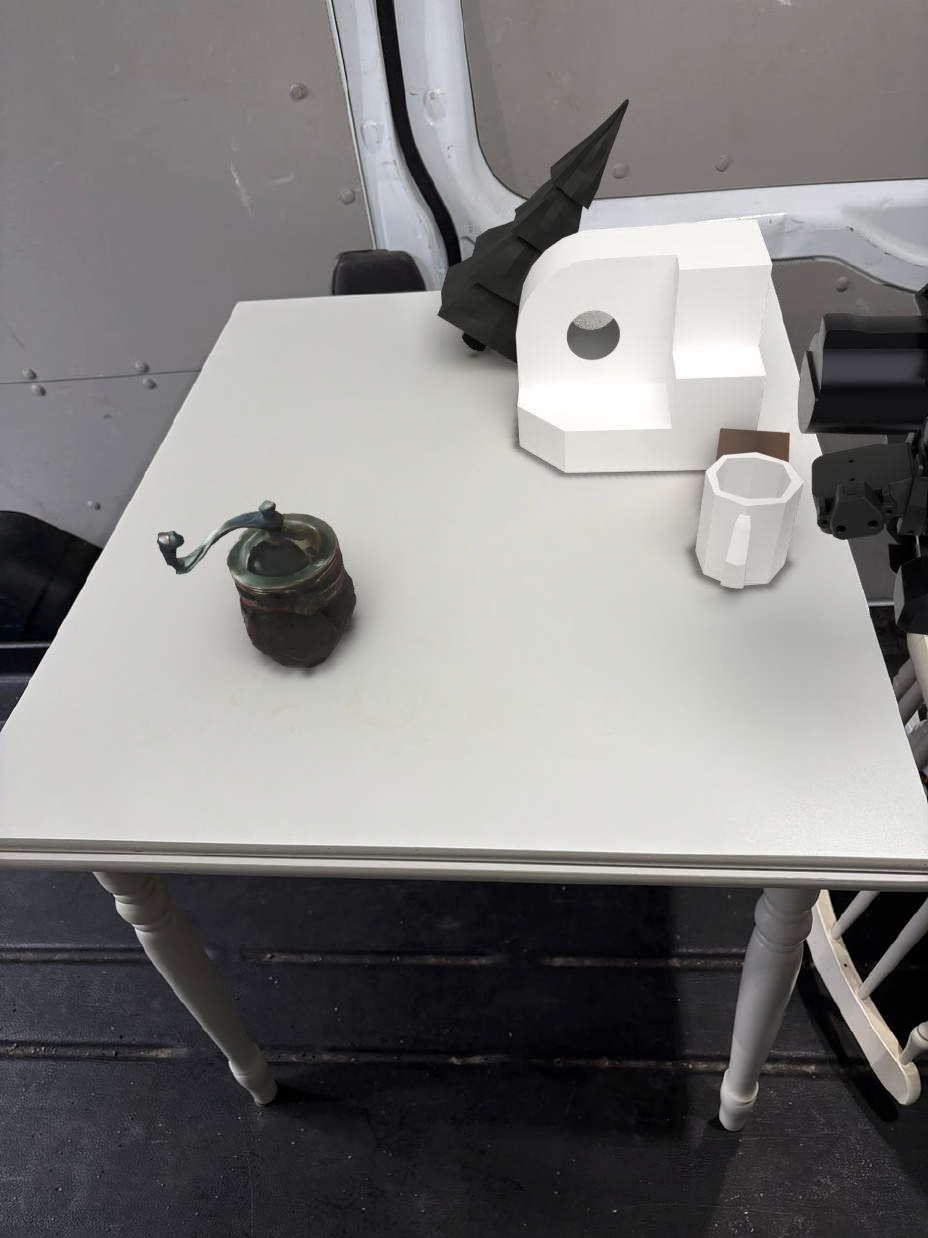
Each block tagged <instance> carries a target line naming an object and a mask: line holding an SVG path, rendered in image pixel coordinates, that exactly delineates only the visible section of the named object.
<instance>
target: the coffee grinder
mask: <svg viewBox="0 0 928 1238" xmlns="http://www.w3.org/2000/svg"><path fill="white" fill-rule="evenodd" d="M276 508H277V504H276V503H275V502H273V501H270V500H268V499H266V500H264V501H263V502H262V503H261V505H259V507H258V510H255V511H247V512H243V513H240V514H238V515H236V516H233V517H232V518H229V519H228V520H227V521H225V522H223V524H222V525H220V526H219V527H218V528H216V529H214V530H213V531H212V532H210V533H209V535H207V536H206V537H205V538H204V540H203V541H202V543H200V544H199V546H198V547H197V548H195V549H194V550H193V551H192V552H191V553H189V554H188V555H186V556H183V557H178V555H177V550H178V548H180V547H182V546H183V545H184V544H185V538H184V536H183V535H182V534H179V533H178V532H176V531H175V530H169V531H160V532H158V533H157V540H156V543H157V545H158V548H159V552H160V553H161V554H162V557H163V558H164V561H165V564H166V565H167V566H169V567H170V566H171V567H172V568H173V569H174V570H175V575H178V576H179V575H185V574H189V573H190V572H191V571H193V569H194V568H195V567H196V566H198V564H199V563H200V562H201V561H202V560H203V559H204V558H205V556H206V555H207V554H208V551H209V550H210V549H211V548H212V547H213V546H214V545H215V544H216V543H217V542H219V540H220V539H222V538H223V537H225V536H227V535H228V534H229V533H231V532H233V531H236V530H238V529H245V530H242V531H241V533H240V535H239V536H238V537H237V538H236V540H235V542H234V544H233V545H231V547H230V548H229V549H228V555H226V559H225V561H226V566H227V568H228V570H229V573H230V576H231V578H232V579H233V581H234V584H235V588H236V591H237V593H238V595H239V605H240V613H241V615H242V617H243V623H244V626H245V629H246V634H247V635H248V638H249V639H250V641H251V643H252V645H253V647H254V648H256V650H258V651H259V652H261V653H263V654H264V655H265V656H267V657H270V658H271V659H272V660H273V661H275V662H276V663H278V664H280V665H282V666H286V667H305V668H312V667H315V666H317V665H319V664H321V663H322V664H323V663H324V662H325V661H326V659H327V657H329V656H330V655H331V654H332V652H333V651H334V650H335V648H336V646H337V644H338V643H339V641H340V640H341V639H342V636H343V634H344V633H345V632H346V630H347V628H348V627H349V624H350V621H351V619H352V617H353V614H354V611H355V608H356V605H357V600H358V599H357V595H356V591H355V585H354V580H353V578H352V577H351V575H349V573H348V572H347V570H346V567H345V564H344V558H343V553H342V550H341V546H340V543H339V539H338V536H337V534H336V533H335V532H336V531H335V530H334V529H333V527H332V526H331V525H330V524H329V523H328V522H326V521H325V520H323V519H321V518H319V517H316V516H314V515H312V514H308V513H296V512H295V513H294V512H292V513H290V512H289V513H285V512H284V513H281V512H280V511H278V510H277V509H276Z"/></svg>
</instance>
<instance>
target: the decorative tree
mask: <svg viewBox="0 0 928 1238" xmlns="http://www.w3.org/2000/svg"><path fill="white" fill-rule="evenodd" d="M629 104H630V99H628V98H625V100H624V101H623V102H622V103H621V104H620V105H619V106H618V107H617V108H616V109H615V110H614V112H612V113H611V114H610V115H609V116H608V118H607V119H606V120H604V122H602V123H601V124H600V126H598V127H597V128H596V129H595V130H594V131H592V132H591V133H590V134H589V135H588V136H586V138H584V139H583V140H581V141H580V142H579V143H578V144H576V145H575V146H574V147H573V148H572V149H570V150H569V151H568V152H567V153H565V154H564V155H563V156H561V158H560V159H558V160H557V161H555V163H554V164H552V165H551V166H550V169H549V173H550V178H549V179H548V180H547V181H546V182H544V183H543V184H542V185H541V186H540V187H539V188H537V190H536V191H535V192H534V193H533V194H532V195H531V196H530V197H529V198H528V199H527V200H525V201H524V202H523V203H522V204H520V205H519V206H517V207H516V208H514V213H515V215H514V218H513V220H511V221H509V222H506V223H503V224H500V225H497V226H494V227H490V228H488V229H486V230H485V231H484V232H482V233H480V234H479V235H477V237H475V243H474V248H473V251H472V254H471V256H468V257H467V258H466V259H463V260H462V261H460V262H458V263H456V264H454V265H451V266H449V267H447V269H446V274H445V277H444V279H443V284H442V287H441V290H440V299H441V305H440V307H439V310H438V312H437V315H436V316H437V317H439V318H441V319H442V320H444V321H445V322H447V323H449V324H450V325H452V326H454V327H455V328H457V329H458V330H460V331H461V332H463V333H462V335H461V340H462V342H464V344H465V345H466V346H467V347H468V348H470V349H471V350H473V351H476V352H479V353H481V352H484V351H485V349H486V347H487V348H488V349H491V350H492V351H493V352H495V353H497V354H498V355H500V356H502V357H504V358H505V359H507V360H509V361H511V362H512V363H514V364H516V365H518V361H517V345H516V330H517V322H518V314H519V306H520V300H521V294H522V289H523V284H524V282H525V280H526V278H527V276H528V273H529V271H530V269H531V267H532V266H533V264H534V263H535V262H536V261H537V260H538V259H539V257H540V256H541V255H542V254H543V253H544V252H545V250H547V249H548V248H550V247H551V246H552V245H554V244H555V243H557V242H558V241H560V240H561V239H562V238H565V237H567V236H570V235H573V234H576V233H578V232H580V231H579V230H580V227H581V226H580V225H581V220H582V214H583V208H585V209H586V210H587V211H589V210H590V207H591V205H592V203H593V201H594V198H595V197H596V195H597V193H598V190H599V188H600V185H601V181H602V179H603V175H604V173H605V170H606V167H607V164H608V161H609V157H610V155H611V152H612V149H613V147H614V144H615V141H616V139H617V136H618V133H619V132H620V129H621V126H622V125H621V124H622V121H623V119H624V116H625V114H626V112H627V109H628V106H629Z"/></svg>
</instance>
